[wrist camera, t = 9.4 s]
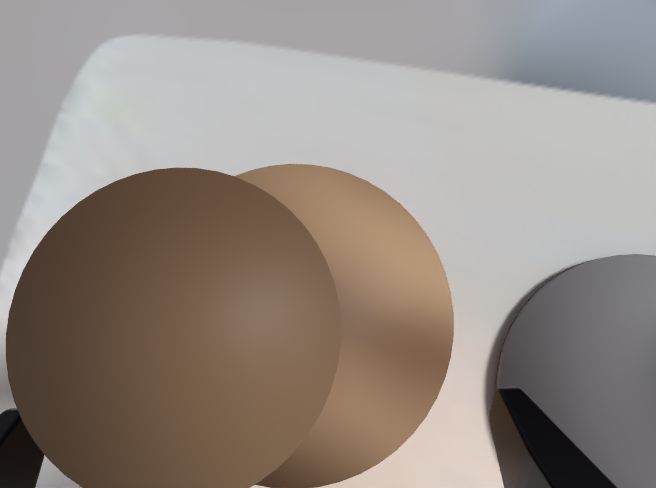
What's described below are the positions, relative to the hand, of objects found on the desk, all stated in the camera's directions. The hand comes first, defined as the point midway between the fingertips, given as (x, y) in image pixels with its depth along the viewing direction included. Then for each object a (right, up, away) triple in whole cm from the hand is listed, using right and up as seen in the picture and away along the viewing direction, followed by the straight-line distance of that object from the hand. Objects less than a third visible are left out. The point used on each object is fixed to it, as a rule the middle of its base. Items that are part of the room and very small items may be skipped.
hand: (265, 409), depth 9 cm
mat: (+15, -4, +12) cm, 20 cm away
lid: (0, +1, +8) cm, 8 cm away
